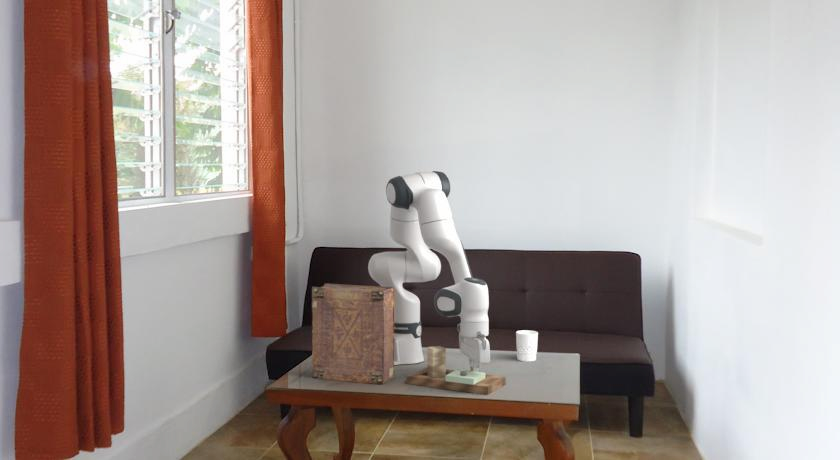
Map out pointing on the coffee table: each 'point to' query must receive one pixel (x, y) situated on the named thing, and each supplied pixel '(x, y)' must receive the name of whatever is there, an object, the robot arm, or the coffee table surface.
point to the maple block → (436, 361)
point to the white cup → (526, 345)
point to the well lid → (465, 377)
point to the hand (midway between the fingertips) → (474, 372)
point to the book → (353, 333)
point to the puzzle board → (481, 387)
